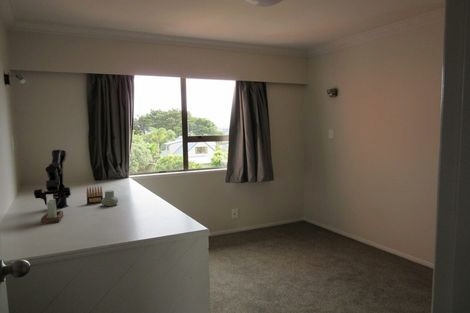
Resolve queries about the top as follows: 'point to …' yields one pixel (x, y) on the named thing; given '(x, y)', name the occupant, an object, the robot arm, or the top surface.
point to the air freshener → (109, 198)
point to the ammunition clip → (94, 195)
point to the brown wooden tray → (52, 220)
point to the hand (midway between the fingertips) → (51, 204)
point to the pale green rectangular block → (51, 208)
